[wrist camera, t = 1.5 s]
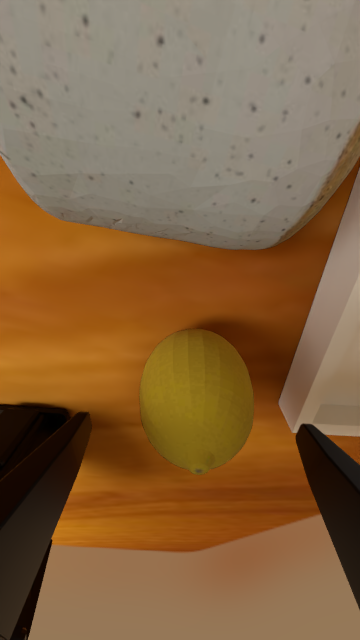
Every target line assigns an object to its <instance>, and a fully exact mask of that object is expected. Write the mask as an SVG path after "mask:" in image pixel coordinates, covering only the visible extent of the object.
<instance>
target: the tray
mask: <svg viewBox="0 0 360 640" xmlns="http://www.w3.org/2000/svg"><path fill="white" fill-rule="evenodd" d="M278 404H279V406H280V408H281V411H282V413H283V415H284V417H285V419H286V421H287V423H288V425H289V427H290V429H291V431H292V433H297V432H298V429H299V427H300V425H301V424H302V423H306V424H312V425H314V426H315V427H316V428H317V429H319V430H320V431H321V432H322V433H323V434H324V435H342V436H360V168H359V171H358V174H357V177H356V180H355V183H354V185H353V188H352V191H351V194H350V197H349V200H348V203H347V206H346V209H345V211H344V214H343V217H342V220H341V223H340V226H339V229H338V232H337V235H336V237H335V240H334V243H333V246H332V249H331V252H330V255H329V258H328V261H327V263H326V266H325V269H324V272H323V275H322V278H321V281H320V284H319V287H318V289H317V292H316V295H315V298H314V301H313V304H312V307H311V310H310V313H309V315H308V318H307V321H306V324H305V327H304V330H303V333H302V336H301V339H300V341H299V344H298V347H297V350H296V353H295V356H294V359H293V362H292V365H291V367H290V370H289V373H288V376H287V379H286V382H285V385H284V388H283V391H282V393H281V396H280V399H279V402H278Z"/></svg>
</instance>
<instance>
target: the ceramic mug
mask: <svg viewBox="0 0 360 640" xmlns="http://www.w3.org/2000/svg"><path fill="white" fill-rule="evenodd" d="M0 155H1V156H2V158H3V160H4V161H5V163H6V164H7V166H8V167H9V169H10V170H11V172H12V173H13V175H14V176H15V178H16V179H17V181H18V182H19V184H20V185H21V186H22V188H23V189H24V190H25V192H26V193H27V194H28V195H29V196H30V198H31V199H32V200H33V201H34V202H35V203H36V204H37V205H38V206H39V207H41V208H42V209H43V210H45V211H46V212H47V213H49V214H51V215H53V216H55V217H56V218H58V219H60V220H64V221H69V222H75V223H80V224H87V225H93V226H100V227H105V228H110V229H115V230H120V231H125V232H131V233H137V234H143V235H148V236H154V237H161V238H168V239H175V240H181V241H186V242H191V243H196V244H200V245H205V246H210V247H216V248H223V249H232V250H238V249H248V250H258V249H266V248H270V247H273V246H276V245H278V244H280V243H281V242H283V241H285V240H287V239H289V238H290V237H291V236H293V235H294V234H295V233H296V232H298V231H299V230H300V229H301V228H302V227H304V226H305V225H306V224H307V223H308V222H309V221H310V220H311V219H312V218H313V217H314V216H315V215H316V214H317V213H318V212H319V211H320V210H321V209H322V207H323V206H324V205H325V204H326V202H327V201H328V200H329V199H330V197H331V196H332V195H333V194H334V192H335V191H336V190H337V189H338V187H339V186H340V185H341V183H342V182H343V181H344V179H345V178H346V177H347V175H348V174H349V173H350V171H351V170H352V169H353V167H354V165H355V164H356V162H357V160H358V158H359V157H360V0H0Z"/></svg>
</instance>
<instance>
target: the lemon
mask: <svg viewBox="0 0 360 640" xmlns="http://www.w3.org/2000/svg"><path fill="white" fill-rule="evenodd" d="M139 400H140V414H141V421H142V425H143V428H144V430H145V433H146V435H147V437H148V439H149V441H150V443H151V444H152V445H153V447H154V448H155V449H156V450H157V451H158V453H159V454H160V455H161V456H163V457H164V458H165V459H166V460H168V461H169V462H171V463H172V464H174V465H176V466H178V467H181V468H184V469H188V470H190V472H191V473H193V474H197V475H202V474H205V473H207V472H208V471H209V469H214V468H216V467H219V466H221V465H223V464H224V463H226V462H227V461H229V460H230V459H232V458H233V457H234V456H235V455H236V454H237V453H238V452H239V451H240V449H241V448H242V447H243V445H244V444H245V442H246V440H247V438H248V436H249V434H250V431H251V428H252V424H253V414H254V394H253V388H252V383H251V380H250V376H249V373H248V369H247V367H246V365H245V363H244V361H243V359H242V358H241V356H240V355H239V353H238V352H237V350H236V349H235V348H234V346H233V345H232V344H230V343H229V342H228V341H227V340H226V339H224V338H223V337H222V336H220V335H218V334H216V333H214V332H212V331H208V330H204V329H186V330H181V331H177V332H175V333H173V334H171V335H169V336H168V337H166V338H165V339H164V340H163V341H162V342H160V343H159V344H158V345H157V346H156V347H155V349H154V351H153V352H152V354H151V355H150V357H149V358H148V360H147V362H146V365H145V368H144V371H143V375H142V378H141V383H140V390H139Z"/></svg>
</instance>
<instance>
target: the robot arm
mask: <svg viewBox="0 0 360 640" xmlns="http://www.w3.org/2000/svg"><path fill="white" fill-rule="evenodd" d="M91 429H92V423H91V418H90V414H89V412H78V413H77V414H75V415H74V416H73V417H72V418H71V419H70V417H69V413H68V412H67V411H66V410H63V409H50V408H32V407H14V406H0V640H28V637H29V633H30V629H31V625H32V621H33V617H34V613H35V609H36V605H37V601H38V597H39V593H40V589H41V585H42V581H43V577H44V572H45V569H46V564H47V561H48V557H49V553H50V548H51V545H52V539H51V538H52V535H53V533H54V530H55V528H56V525H57V523H58V521H59V518H60V516H61V513H62V511H63V508H64V506H65V504H66V501H67V499H68V496H69V494H70V491H71V489H72V487H73V484H74V482H75V479H76V477H77V474H78V472H79V469H80V466H81V463H82V459H83V456H84V453H85V450H86V446H87V443H88V440H89V436H90V433H91ZM296 443H297V446H298V450H299V453H300V456H301V460H302V463H303V466H304V470H305V473H306V476H307V479H308V482H309V485H310V487H311V490H312V493H313V495H314V497H315V500H316V502H317V505H318V507H319V510H320V512H321V515H322V517H323V520H324V522H325V525H326V527H327V530H328V532H329V535H330V537H331V539H332V542H333V545H334V547H335V550H336V552H337V554H338V557H339V559H340V562H341V565H342V567H343V569H344V572H345V574H346V577H347V579H348V582H349V584H350V587H351V589H352V592H353V594H354V597H355V599H356V602H357V604H358V607H359V609H360V465H359V464H358V463H357V462H355V461H354V460H353V459H352V458H351V457H350V456H349V455H347V454H346V453H345V452H344V451H343V450H342V449H341V448H339V447H338V446H337V445H336V444H335V443H334V442H332V441H331V440H330V439H329V438H328V437H327V436H326V435H324V434H323V433H322V432H321V431H320V430H319V429H317V428H316V427H315V426H314V425H312V424H306V423H302V424H301V425H300V427H299V429H298V432H297V434H296Z"/></svg>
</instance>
